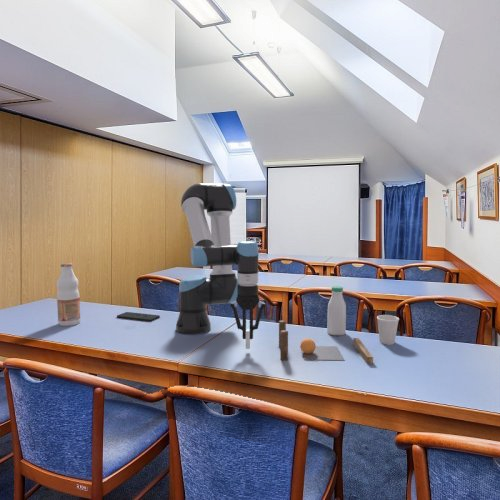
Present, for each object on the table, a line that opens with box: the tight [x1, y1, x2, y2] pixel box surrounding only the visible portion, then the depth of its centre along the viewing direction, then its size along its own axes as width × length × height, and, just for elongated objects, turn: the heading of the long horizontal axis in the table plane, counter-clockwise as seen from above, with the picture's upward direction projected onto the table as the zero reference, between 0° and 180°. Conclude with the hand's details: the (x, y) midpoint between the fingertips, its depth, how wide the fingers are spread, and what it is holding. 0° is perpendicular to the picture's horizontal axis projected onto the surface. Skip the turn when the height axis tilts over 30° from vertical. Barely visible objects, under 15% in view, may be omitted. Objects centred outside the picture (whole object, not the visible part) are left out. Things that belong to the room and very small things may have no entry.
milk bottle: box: [326, 285, 347, 336], centre depth 166 cm, size 8×8×20 cm
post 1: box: [278, 320, 287, 349], centre depth 150 cm, size 3×3×10 cm
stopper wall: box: [352, 337, 374, 365], centre depth 143 cm, size 2×20×2 cm, turn 178°
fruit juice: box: [56, 262, 81, 327], centre depth 180 cm, size 9×9×28 cm
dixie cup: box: [376, 314, 400, 346], centre depth 155 cm, size 8×8×10 cm
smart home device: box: [116, 311, 161, 323], centre depth 192 cm, size 8×2×20 cm
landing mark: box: [299, 345, 346, 362], centre depth 144 cm, size 14×14×1 cm
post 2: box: [279, 329, 289, 361], centre depth 137 cm, size 3×3×10 cm
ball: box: [300, 338, 317, 354], centre depth 143 cm, size 6×6×6 cm
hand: (247, 347), depth 144 cm, fingers closed
